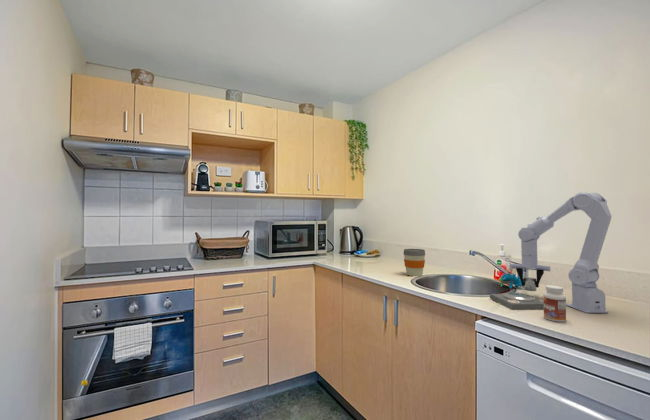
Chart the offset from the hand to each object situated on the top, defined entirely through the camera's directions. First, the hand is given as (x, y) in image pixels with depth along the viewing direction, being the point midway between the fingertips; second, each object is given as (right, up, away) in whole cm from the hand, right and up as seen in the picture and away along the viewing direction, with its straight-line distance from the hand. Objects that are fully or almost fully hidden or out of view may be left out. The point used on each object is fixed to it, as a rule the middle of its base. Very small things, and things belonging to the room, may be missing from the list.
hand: (530, 286), depth 131 cm
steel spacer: (0, -2, 0) cm, 2 cm away
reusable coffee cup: (-36, -6, +48) cm, 60 cm away
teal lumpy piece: (+2, -5, +17) cm, 18 cm away
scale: (-12, -4, -10) cm, 16 cm away
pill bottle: (-11, -4, -28) cm, 30 cm away
